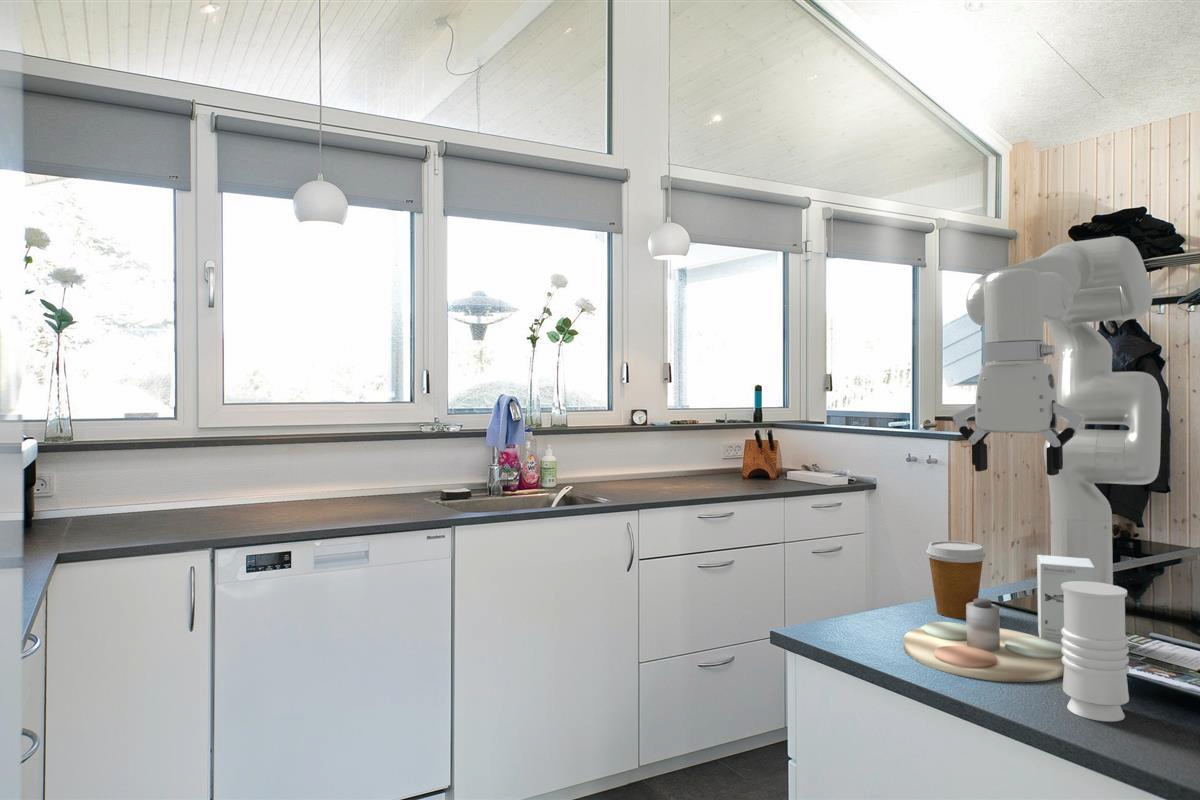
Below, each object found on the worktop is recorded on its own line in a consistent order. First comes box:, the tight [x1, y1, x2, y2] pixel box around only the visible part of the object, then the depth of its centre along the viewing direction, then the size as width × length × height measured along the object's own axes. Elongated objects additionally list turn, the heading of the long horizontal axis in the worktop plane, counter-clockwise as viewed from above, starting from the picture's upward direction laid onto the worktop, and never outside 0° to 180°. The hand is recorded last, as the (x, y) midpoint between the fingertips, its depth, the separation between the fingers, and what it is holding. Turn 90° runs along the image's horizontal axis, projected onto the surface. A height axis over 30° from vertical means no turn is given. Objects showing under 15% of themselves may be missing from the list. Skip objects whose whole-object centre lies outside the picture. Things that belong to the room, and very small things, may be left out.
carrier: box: [903, 597, 1064, 683], centre depth 113 cm, size 22×22×8 cm
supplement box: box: [1036, 554, 1095, 646], centre depth 119 cm, size 7×7×13 cm
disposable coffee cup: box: [925, 540, 987, 619], centre depth 134 cm, size 10×10×12 cm
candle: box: [1061, 581, 1130, 722], centre depth 93 cm, size 7×7×15 cm
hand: (1016, 472), depth 112 cm, fingers open, 9 cm apart
